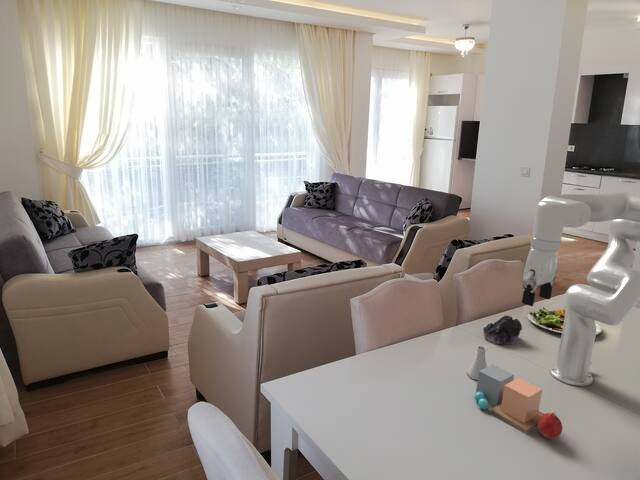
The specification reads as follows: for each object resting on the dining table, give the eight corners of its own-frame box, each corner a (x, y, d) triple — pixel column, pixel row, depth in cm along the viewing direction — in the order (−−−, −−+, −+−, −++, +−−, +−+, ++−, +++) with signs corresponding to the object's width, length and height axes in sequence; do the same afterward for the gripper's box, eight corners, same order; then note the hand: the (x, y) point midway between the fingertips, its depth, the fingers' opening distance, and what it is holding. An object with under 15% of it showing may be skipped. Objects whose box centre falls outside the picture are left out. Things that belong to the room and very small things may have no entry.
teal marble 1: (474, 388, 141) (471, 397, 142) (480, 394, 138) (476, 403, 139) (483, 390, 142) (479, 399, 143) (488, 396, 139) (484, 405, 140)
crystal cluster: (475, 339, 184) (480, 317, 180) (488, 326, 194) (493, 304, 190) (510, 353, 176) (515, 330, 173) (522, 339, 186) (527, 316, 182)
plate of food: (514, 323, 200) (516, 309, 198) (543, 308, 218) (545, 295, 217) (585, 347, 180) (588, 333, 178) (610, 329, 198) (613, 315, 197)
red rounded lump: (531, 431, 128) (536, 405, 126) (551, 431, 129) (556, 404, 127) (543, 445, 122) (547, 418, 120) (564, 445, 123) (569, 418, 121)
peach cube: (537, 414, 134) (542, 389, 132) (524, 423, 129) (528, 397, 127) (514, 402, 139) (518, 377, 137) (500, 410, 135) (504, 385, 133)
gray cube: (489, 387, 149) (492, 364, 147) (510, 398, 143) (514, 374, 141) (475, 394, 144) (478, 370, 142) (496, 406, 139) (500, 381, 137)
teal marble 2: (481, 396, 139) (478, 406, 139) (478, 397, 137) (475, 406, 137) (491, 401, 137) (488, 410, 137) (488, 401, 135) (485, 411, 135)
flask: (490, 383, 152) (494, 354, 149) (467, 379, 153) (471, 351, 150) (487, 371, 158) (491, 344, 156) (465, 368, 160) (468, 341, 157)
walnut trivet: (511, 400, 142) (511, 397, 142) (547, 419, 134) (547, 415, 133) (490, 413, 135) (490, 409, 135) (526, 433, 127) (527, 429, 127)
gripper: (547, 238, 143) (538, 291, 147) (516, 245, 132) (508, 303, 136) (572, 243, 137) (563, 299, 141) (543, 251, 127) (533, 311, 131)
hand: (536, 301), depth 139 cm, fingers open, 9 cm apart
